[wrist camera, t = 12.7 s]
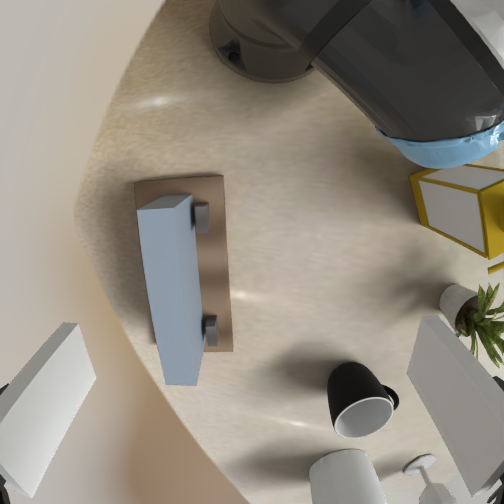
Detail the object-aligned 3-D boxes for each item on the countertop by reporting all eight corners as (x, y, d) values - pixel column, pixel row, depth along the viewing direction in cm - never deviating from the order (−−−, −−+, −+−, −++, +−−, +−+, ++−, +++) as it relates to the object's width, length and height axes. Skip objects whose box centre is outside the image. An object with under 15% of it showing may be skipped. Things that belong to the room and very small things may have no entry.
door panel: (163, 195, 38) (136, 210, 28) (192, 193, 38) (174, 207, 28) (180, 339, 43) (166, 384, 34) (205, 339, 44) (196, 385, 34)
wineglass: (397, 473, 59) (421, 536, 39) (420, 452, 57) (450, 516, 37) (418, 473, 60) (442, 531, 40) (440, 453, 58) (470, 512, 38)
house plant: (498, 279, 44) (558, 320, 28) (457, 344, 47) (505, 398, 32) (454, 242, 41) (524, 282, 26) (407, 319, 45) (459, 381, 29)
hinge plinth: (137, 181, 38) (125, 185, 34) (223, 175, 38) (220, 178, 34) (160, 345, 46) (153, 363, 41) (233, 345, 46) (232, 364, 41)
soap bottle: (374, 188, 39) (496, 233, 17) (447, 161, 38) (578, 184, 15) (388, 238, 41) (499, 319, 19) (457, 208, 40) (578, 258, 17)
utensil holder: (300, 457, 54) (311, 528, 38) (371, 438, 53) (395, 504, 37) (310, 487, 59) (320, 547, 42) (372, 471, 58) (390, 528, 41)
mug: (314, 395, 49) (325, 440, 39) (330, 353, 46) (346, 396, 37) (376, 397, 50) (395, 436, 40) (395, 357, 47) (420, 395, 38)
